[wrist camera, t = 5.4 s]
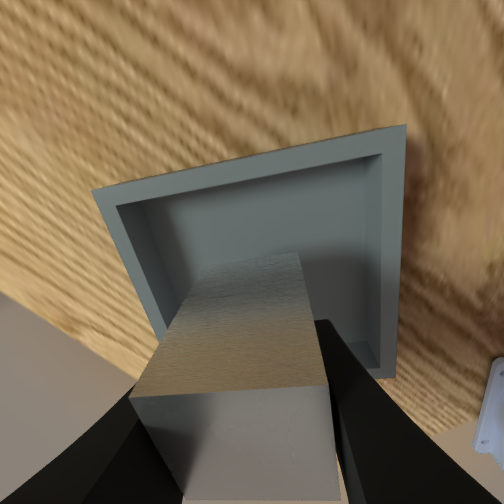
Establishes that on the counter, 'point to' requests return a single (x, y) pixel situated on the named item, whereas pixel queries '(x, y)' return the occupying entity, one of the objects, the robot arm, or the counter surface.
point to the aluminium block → (243, 388)
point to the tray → (277, 231)
